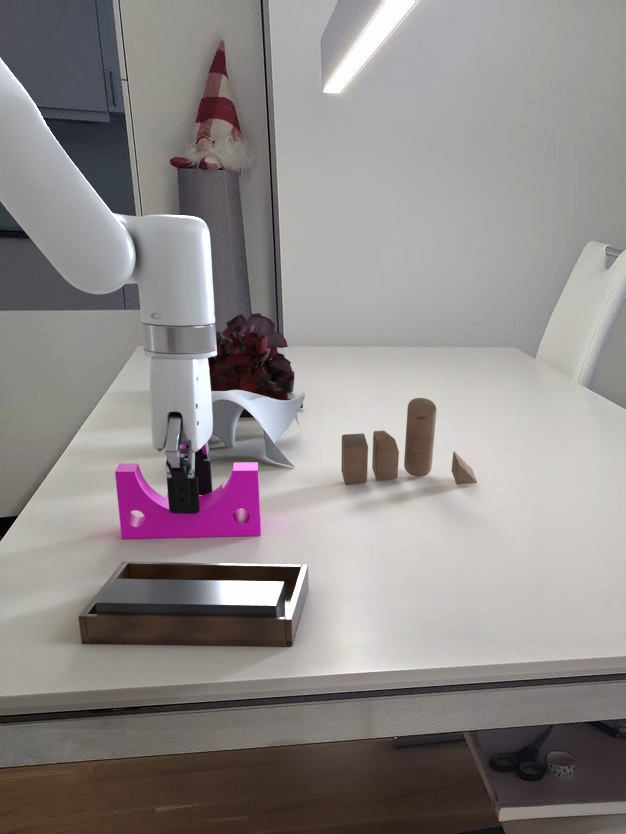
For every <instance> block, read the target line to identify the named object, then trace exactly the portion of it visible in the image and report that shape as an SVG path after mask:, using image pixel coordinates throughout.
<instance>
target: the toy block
mask: <svg viewBox="0 0 626 834" xmlns="http://www.w3.org/2000/svg"><path fill="white" fill-rule="evenodd" d="M114 476H115V486H116V497H117V504H118V516H119V525H120V526H119V527H120V536H121V539H122V540H123V539H124V540H125V539H126V540H127V539H128V540H131V539H134V540H135V539H170V538H171V539H173V538H174V539H175V538H217V537H218V538H219V537H222V538H223V537H225V538H226V537H261V536H262V526H261V525H262V523H261V519H262V518H261V499H260V481H259V480H260V479H259V478H260V477H259V462H257V461H256V462H254V461H252V462H251V461H250V462H247V461H245V462H233V464H232V470H231V474H230V476H229V478H228V480H227V482H223V483H221V484H220V485H219V486H218V487H216V488H215V489H213V490H212V492H210V493H208V494H205V495H199V504H200V511H199V512H198V513H197V514H178V513H171V512H170V511H169V501H168V491H167V493H166V495H165V496H163V495H161V494H160V493H159V492H157V491H156V490H155V489H154V488H153V487H152V486H151V485H150V484H149V482H148V481H147V480H146V479H145V477H144V475H143V473H142V471H141V469H140V465H139V463H137V462H135V463H131V462H129V463H128V462H126V463H125V462H124V463H123V462H122V463H118V464H117V467H116V468H115V471H114ZM134 511H137V512H140V513H141V514H142V515H143V516H136V515H135V514H134V513H133V512H134Z"/></svg>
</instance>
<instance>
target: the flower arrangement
mask: <svg viewBox="0 0 626 834" xmlns="http://www.w3.org/2000/svg"><path fill="white" fill-rule="evenodd" d="M225 324H226V326H227V327H226V328H225V329H224V330H216V344H217V355H216V356H214V357H209V358H208V364H209V369H210V370H209V374H210V384H211V391H230V390H243V391H247V392H251V393H255V394H259V395H263V396H266V397H269V398H272V399H277V400H291V399H292V398H289V396H288V393H293V392H294V387H295V371H294V370H293V369H292V365H291V364H292V362H291V361H290V360H289V359H287V358H286V357H285V354H283V353H282V352H281V353H280V352H279V351H278V349H283V348H284V349H285V348H289V346H288V343H287V339H286V338H285V337H284V335H282V333H281V332H278V331H276V324H275V322H274V321H273V320H272V319H271V318H269V317H267V316H264V315H262V314H261V313H260V312H258V313H251V314H250V316H249V317H248V318H247V319H246V317H245V316H244V315H243V314H242V313H241V314H237V315H236V316H234V317H233V318H232V319H230V320H228V321H226V322H225ZM303 408H304V402H303V403H302V405H301V407H300V409H303ZM240 416H248V417H247V418H253V417H252V416H253V415H252V414H251V413H250V412H248V411H247V410H246V409H245V408H244V409H243V411H242V413H241V415H240ZM249 416H250V417H249Z"/></svg>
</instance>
